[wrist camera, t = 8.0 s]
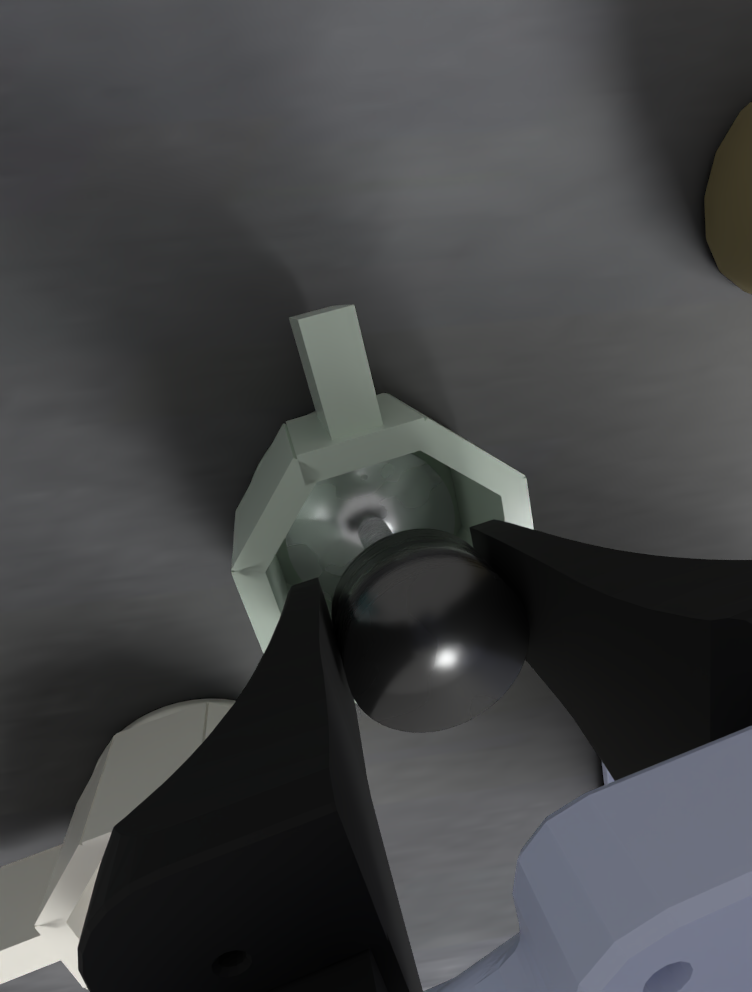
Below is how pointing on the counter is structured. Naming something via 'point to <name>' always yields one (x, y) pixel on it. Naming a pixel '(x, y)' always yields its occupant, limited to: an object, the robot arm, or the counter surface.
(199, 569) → the counter surface
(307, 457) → the sage press pot
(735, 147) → the squeeze bottle
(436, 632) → the sage press plunger
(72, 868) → the cream press pot
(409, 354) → the counter surface
